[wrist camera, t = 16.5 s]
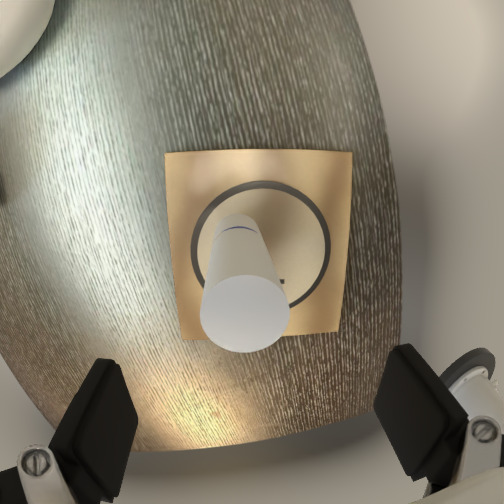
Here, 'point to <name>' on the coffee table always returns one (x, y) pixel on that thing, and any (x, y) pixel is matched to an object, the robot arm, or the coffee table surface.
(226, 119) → the coffee table surface
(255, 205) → the drawing board
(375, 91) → the coffee table surface
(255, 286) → the tube
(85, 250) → the coffee table surface
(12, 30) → the vase
